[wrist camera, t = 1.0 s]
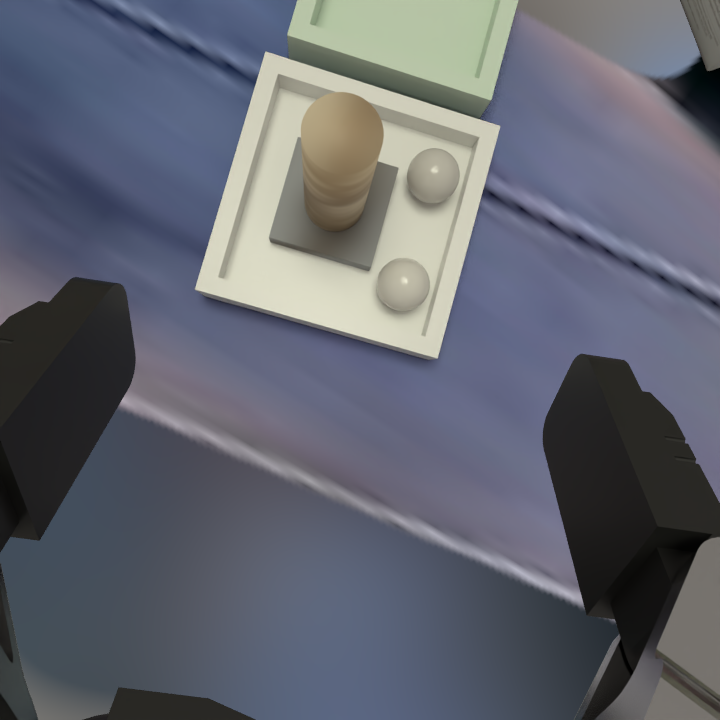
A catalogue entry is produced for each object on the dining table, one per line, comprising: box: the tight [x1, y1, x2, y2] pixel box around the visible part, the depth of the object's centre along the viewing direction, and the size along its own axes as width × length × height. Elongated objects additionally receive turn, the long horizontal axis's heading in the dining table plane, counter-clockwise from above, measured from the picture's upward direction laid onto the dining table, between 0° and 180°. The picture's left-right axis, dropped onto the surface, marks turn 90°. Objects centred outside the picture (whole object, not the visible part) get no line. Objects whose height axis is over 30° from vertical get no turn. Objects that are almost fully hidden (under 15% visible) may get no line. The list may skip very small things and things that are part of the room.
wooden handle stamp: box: [269, 92, 399, 271], centre depth 28 cm, size 6×6×10 cm
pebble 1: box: [377, 258, 430, 311], centre depth 32 cm, size 3×3×3 cm
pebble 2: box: [407, 148, 460, 203], centre depth 32 cm, size 3×3×3 cm
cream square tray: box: [195, 52, 500, 360], centre depth 33 cm, size 14×14×2 cm
